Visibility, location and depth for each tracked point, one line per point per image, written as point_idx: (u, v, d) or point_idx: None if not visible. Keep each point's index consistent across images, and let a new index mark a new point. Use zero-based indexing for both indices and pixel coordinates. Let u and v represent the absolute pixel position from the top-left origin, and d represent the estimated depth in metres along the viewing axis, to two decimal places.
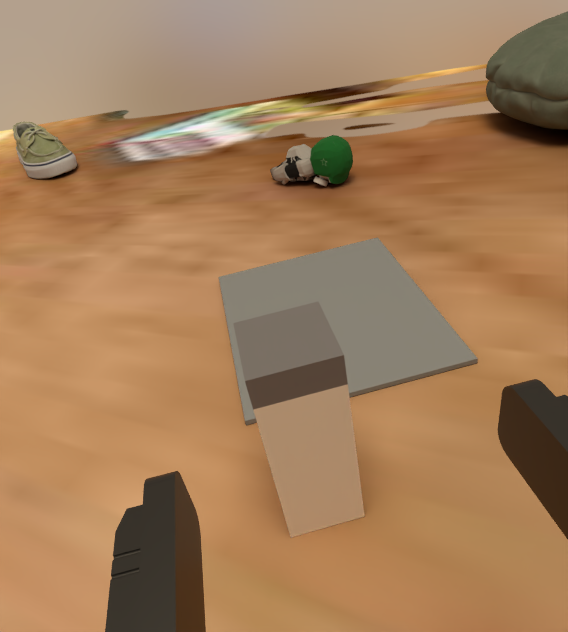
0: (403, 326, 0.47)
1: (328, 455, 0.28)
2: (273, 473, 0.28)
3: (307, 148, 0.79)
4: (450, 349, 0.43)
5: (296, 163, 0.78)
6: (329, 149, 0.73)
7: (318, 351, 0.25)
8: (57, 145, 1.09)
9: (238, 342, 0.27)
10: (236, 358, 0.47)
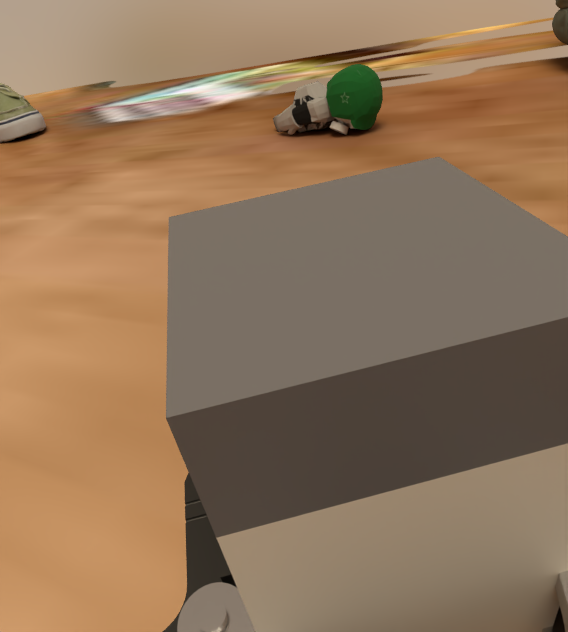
0: None
1: None
2: None
3: (322, 85, 0.60)
4: None
5: (307, 104, 0.59)
6: (352, 80, 0.55)
7: (513, 282, 0.06)
8: (21, 103, 0.91)
9: (173, 264, 0.07)
10: None
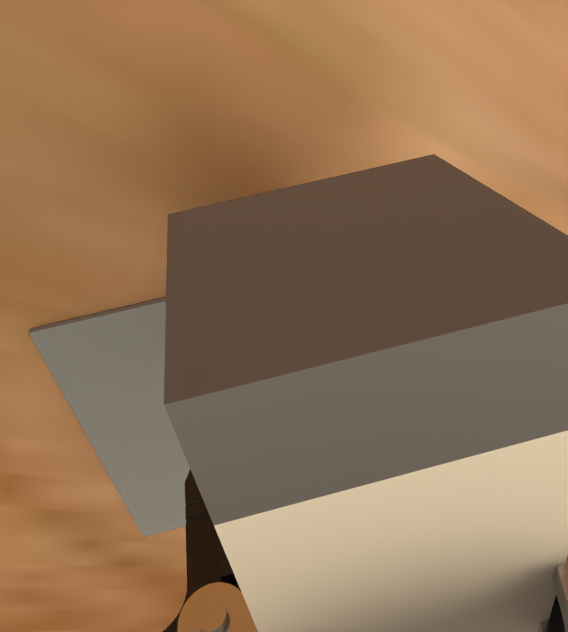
0: (119, 390, 0.37)
1: None
2: None
3: None
4: (63, 349, 0.34)
5: None
6: None
7: (503, 273, 0.06)
8: None
9: (171, 259, 0.07)
10: None
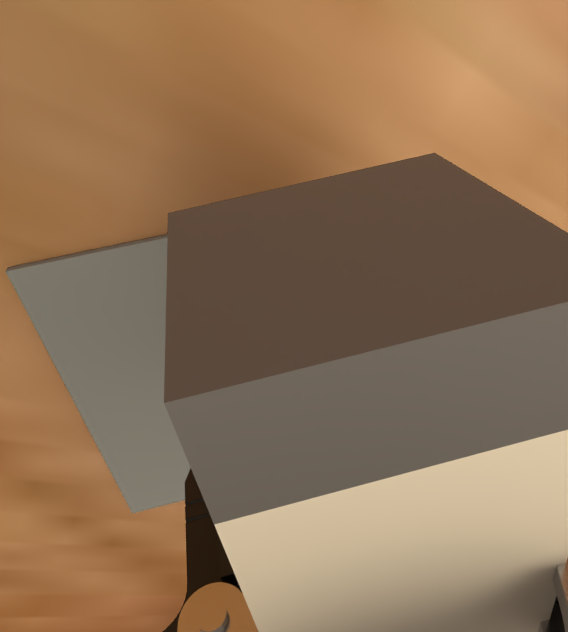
0: (108, 343, 0.33)
1: None
2: None
3: None
4: (44, 292, 0.30)
5: None
6: None
7: (505, 271, 0.06)
8: None
9: (171, 258, 0.07)
10: None
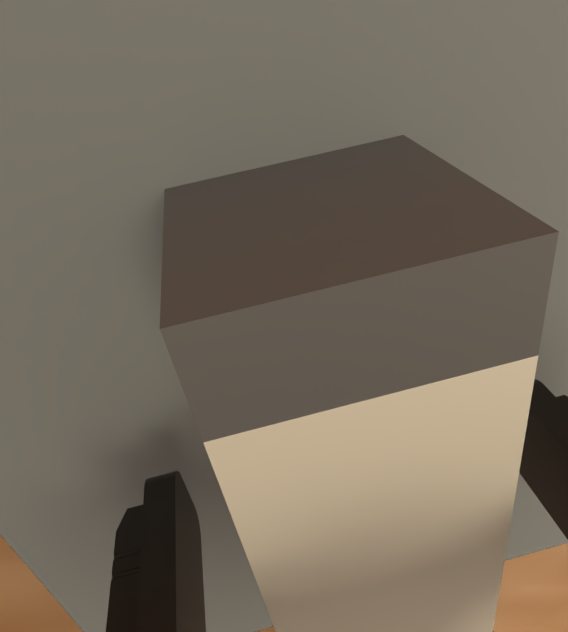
0: (5, 273, 0.10)
1: (429, 568, 0.10)
2: (274, 617, 0.10)
3: None
4: None
5: None
6: None
7: (446, 227, 0.07)
8: None
9: (167, 224, 0.08)
10: None
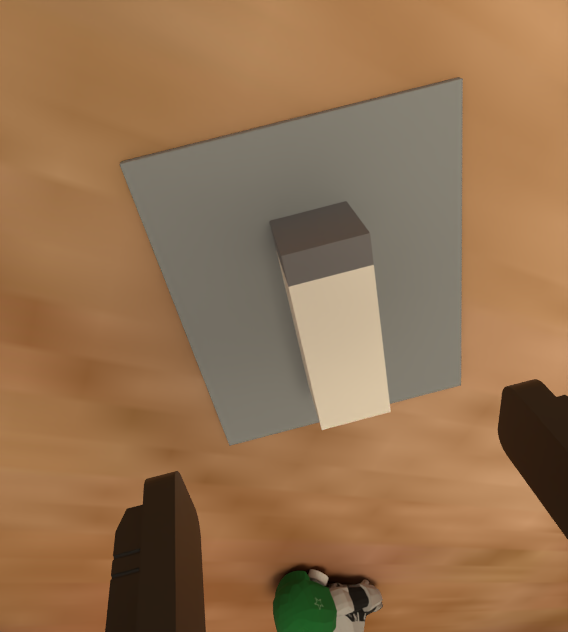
0: (217, 248, 0.32)
1: (355, 341, 0.31)
2: (306, 357, 0.31)
3: None
4: (157, 188, 0.29)
5: (353, 608, 0.53)
6: (312, 623, 0.48)
7: (346, 232, 0.28)
8: None
9: (274, 232, 0.30)
10: (457, 210, 0.33)
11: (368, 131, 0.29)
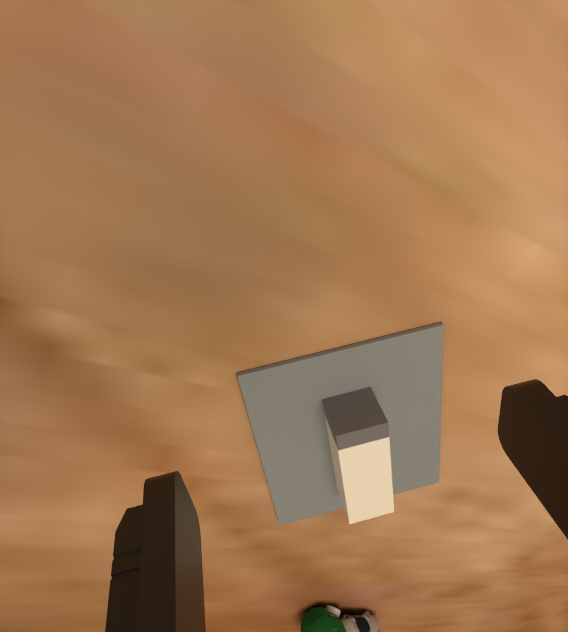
0: (288, 415, 0.50)
1: (375, 475, 0.49)
2: (344, 485, 0.49)
3: None
4: (257, 386, 0.47)
5: None
6: None
7: (374, 419, 0.46)
8: None
9: (327, 412, 0.48)
10: (439, 387, 0.52)
11: (386, 352, 0.48)
